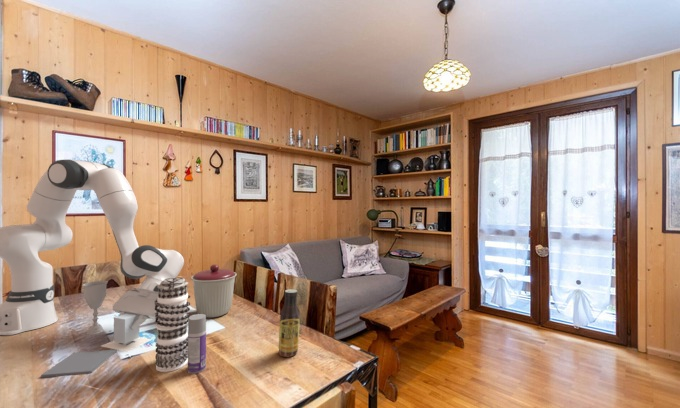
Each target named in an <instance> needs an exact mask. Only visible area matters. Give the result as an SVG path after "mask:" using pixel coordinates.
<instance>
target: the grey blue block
mask: <svg viewBox="0 0 680 408" xmlns="http://www.w3.org/2000/svg"><path fill="white" fill-rule="evenodd" d="M119 315H120V314H119ZM119 315H118V316H114V317H113V340H114V342H118V343H123V344H126V343H128V342H130V341H132V340H134V339H137V338H139V337H140V325H139V326H138V328H137V329H136V330H132V329H130V328H129V327H130V326H131V324H132V323H135V322H136V321H137V320H138V319H139V318H138V317H139V316H140V314H135V313H129V312H128V313H125V314H123V315H120V316H119Z"/></svg>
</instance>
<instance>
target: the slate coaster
mask: <svg viewBox="0 0 680 408" xmlns="http://www.w3.org/2000/svg"><path fill="white" fill-rule="evenodd" d="M117 351H118V350H116V349H109V350H94V351H93V350H92V351H81V352H80V351H79V352H72V353H71V354H69V355H68V356H67V357H65V358H64V359H62V360H61V361H59V362H58V363H56V364H55V365H53V366H51V368H49V369H48V370H46V371H45V372H43V373H42V374H41V375H40V377H41V378H40V379H44V378H45V379H46V378H54V377H55V378H56V377H59V376H73V375H85V374H93V372H95V371H96V370H97V369H98V368H100V366H102V365H103V364H104V363H105V362H106V361H108V360H109V359H110V358H111V357H112V356H113V355H114V354H116V353H117Z"/></svg>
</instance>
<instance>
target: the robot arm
mask: <svg viewBox="0 0 680 408" xmlns="http://www.w3.org/2000/svg"><path fill="white" fill-rule="evenodd" d="M77 191H94V193H95V195H96V197H97V200H98V204H99V205H100V207H101V210H102V211H103V213H104V215H105V218H106V220H107V222H108V224H109V226H110V228H111V230H112V231H111V232H112V234H113V237H114V240H115V243H116V245H117V249H118V251H119V254H120V264H119V265H120V272H121V273H122V275H123V276H125V277H126V278H128V279H131V280H139V279H142V278H144V280H143V281H142V282H141V283H140V284H139V286H138V287H137V288H135V287H134V288H133V287H132V289H129V290H128V291H125V293H124V294H122V295H121V296H119V298H118V299H117V300H116V301H115V303H114V304H113V305H112V310H113V312H114V311H115V312H116V313H117V314H118V316H120V315H123V314H125V313H128V312H129V313H135V314H140V316H139V317H138V318H139V319H138V320H137V321H136V322H135V323H132V324H131V326H130V327H129V328H130V329H132V330H136V329H137V328H138V326H139V327H140V326H141V325H142V324H144V323H145V322H147V319H151V320H156V317H155V313H156V310H155V306H156V305H155V300H157V298H158V287H157V286H158V285H160V283H161V282H162V281H163V280H165V279H168V278H174V277H178V275H179V274H180V272H181V271H182V269H183V266H184V265H185V259H184V257H183V255H182V254H181V253H180V252H179V251H177V250H176V249H161V248H158V247H155V246H153V245H150V244H149V245H148V244H145V245H140V246H139V243H138V240H137V237H136V235H135V230H134V223H135V218H136V216H137V213H138V209H139V206H138V201H137V197H136V195H135V191H134V190H133V188H132V186H131V184H130V182H129V181H128V179H127V178H126V176H125V174H123V173H122V171H121V170H119V169H117V168H114V167H112V166H110V165H107V164H105V163H98V162H94V161H89V160H75V159H59V160H54V161H53V162H52V163H50V165H49V166H48V169H47V170H46V171H45V172H44V174H43V175H42V176H41V177H40V179H39V181H38V182H37V183H36V186H35V188H34V189H33V191H32V194H31V196H30V198H29V200H28V202H27V204H26V210H27V211H28V213H29V214H30V215H32V216H33V217H35V221H34V222H33V223H28V224H13V225H12V224H11V225H6V226H2V227H0V259H2V260H3V261H4V262H5V263H6V265H7V266H8V269H9V272H10V280H11V281H10V283H11V284H10V285H11V289H10V290H9V291H8V292H5V293H2V298H4V297H6V298H5V301H3V302H2V303H1V304H0V336H13V335H16V334H20V333H23V332H27V331H33V330H36V329H40V328H44V327H47V326H49V325H52V324H54V323H56V322H57V321H58V320H59V318H58V316H57V311H56V307H55V303H54V297H55V285H54V283H53V282H54V267H53V266H52V264H51V263H48V262H46V261H43V260H42V259H41V258H40V257H39V253H40V252H45V251H46V252H47V251H53V250H57V249H61V248H63V247H65V246H68V245H69V244H71V242H72V240H73V236H74V234H73V230H72V229H71V227H70V226H69V225H67V223H66V215H67V213H68V210H69V208H70V205H71V203H72V202H73V199H74V197H75V194H76V193H77ZM145 276H146V277H145ZM157 309H159V307H158V308H157ZM158 315H159V313H158Z"/></svg>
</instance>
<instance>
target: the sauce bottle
mask: <svg viewBox="0 0 680 408" xmlns="http://www.w3.org/2000/svg"><path fill="white" fill-rule="evenodd" d="M283 295H284V305H283V307H282V308H281V310H280V319H279V326H278V327H279V328H278V329H279V330H278V332H279V333H278V354H279V356H281V357H283V358H291V357H293V356H296V355H297V353H298V350H299V341H300V340H299V339H300V308H299V307H298V305H297V301H298V300H297V296H298V290H297V289H291V288H290V289H285V290H284V294H283Z"/></svg>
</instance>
